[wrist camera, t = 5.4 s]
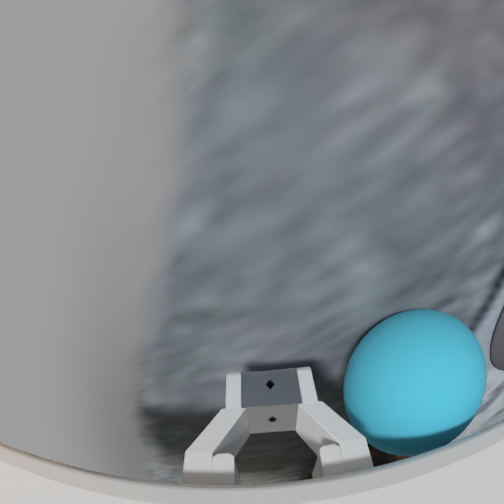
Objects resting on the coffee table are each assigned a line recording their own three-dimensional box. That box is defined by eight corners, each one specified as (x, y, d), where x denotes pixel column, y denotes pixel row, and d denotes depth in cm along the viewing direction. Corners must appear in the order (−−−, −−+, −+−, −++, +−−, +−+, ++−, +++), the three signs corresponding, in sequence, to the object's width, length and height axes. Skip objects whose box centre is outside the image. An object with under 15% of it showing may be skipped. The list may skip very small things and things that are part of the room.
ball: (425, 366, 14) (467, 454, 9) (322, 384, 14) (346, 492, 9) (460, 273, 11) (538, 366, 6) (337, 285, 11) (392, 419, 6)
